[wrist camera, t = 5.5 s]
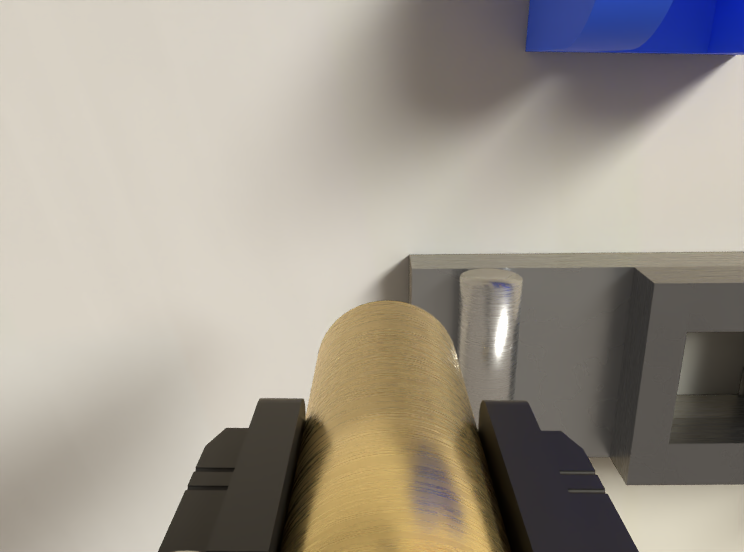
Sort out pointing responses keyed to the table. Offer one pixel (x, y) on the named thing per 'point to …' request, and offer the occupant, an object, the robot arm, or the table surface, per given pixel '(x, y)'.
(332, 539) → the pin
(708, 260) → the grey plate with pins
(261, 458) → the robot arm
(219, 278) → the table surface
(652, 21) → the bracket
